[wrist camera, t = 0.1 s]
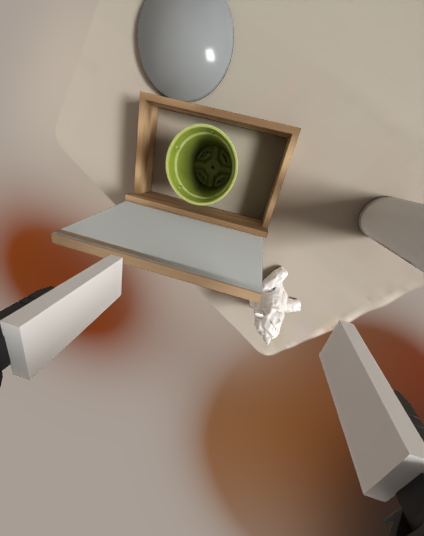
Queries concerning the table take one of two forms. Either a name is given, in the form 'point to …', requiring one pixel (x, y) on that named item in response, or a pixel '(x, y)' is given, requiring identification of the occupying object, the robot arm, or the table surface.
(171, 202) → the frame
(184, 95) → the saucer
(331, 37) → the table surface
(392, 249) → the travel mug
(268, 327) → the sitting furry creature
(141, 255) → the lid
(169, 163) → the plant pot
